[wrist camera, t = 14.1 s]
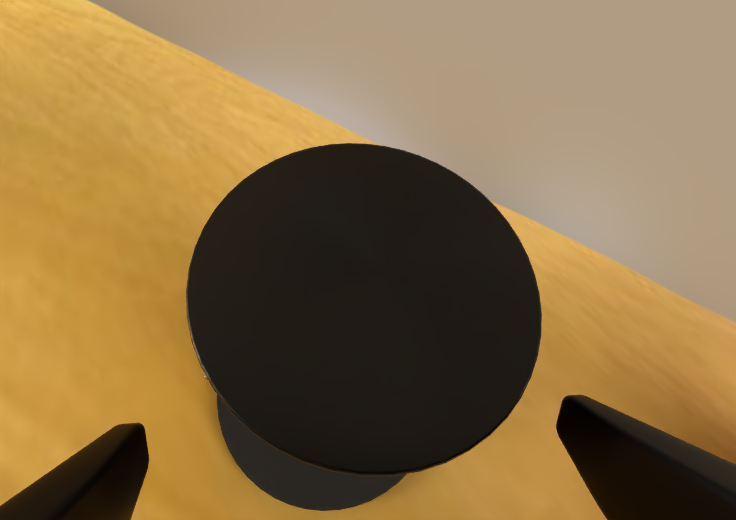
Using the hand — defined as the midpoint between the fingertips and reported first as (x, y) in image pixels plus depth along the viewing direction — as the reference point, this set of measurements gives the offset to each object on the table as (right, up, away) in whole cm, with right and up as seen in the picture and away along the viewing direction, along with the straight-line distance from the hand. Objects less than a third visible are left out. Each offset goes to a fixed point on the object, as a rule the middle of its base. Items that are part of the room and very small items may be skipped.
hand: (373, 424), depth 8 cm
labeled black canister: (-3, -2, +10) cm, 11 cm away
